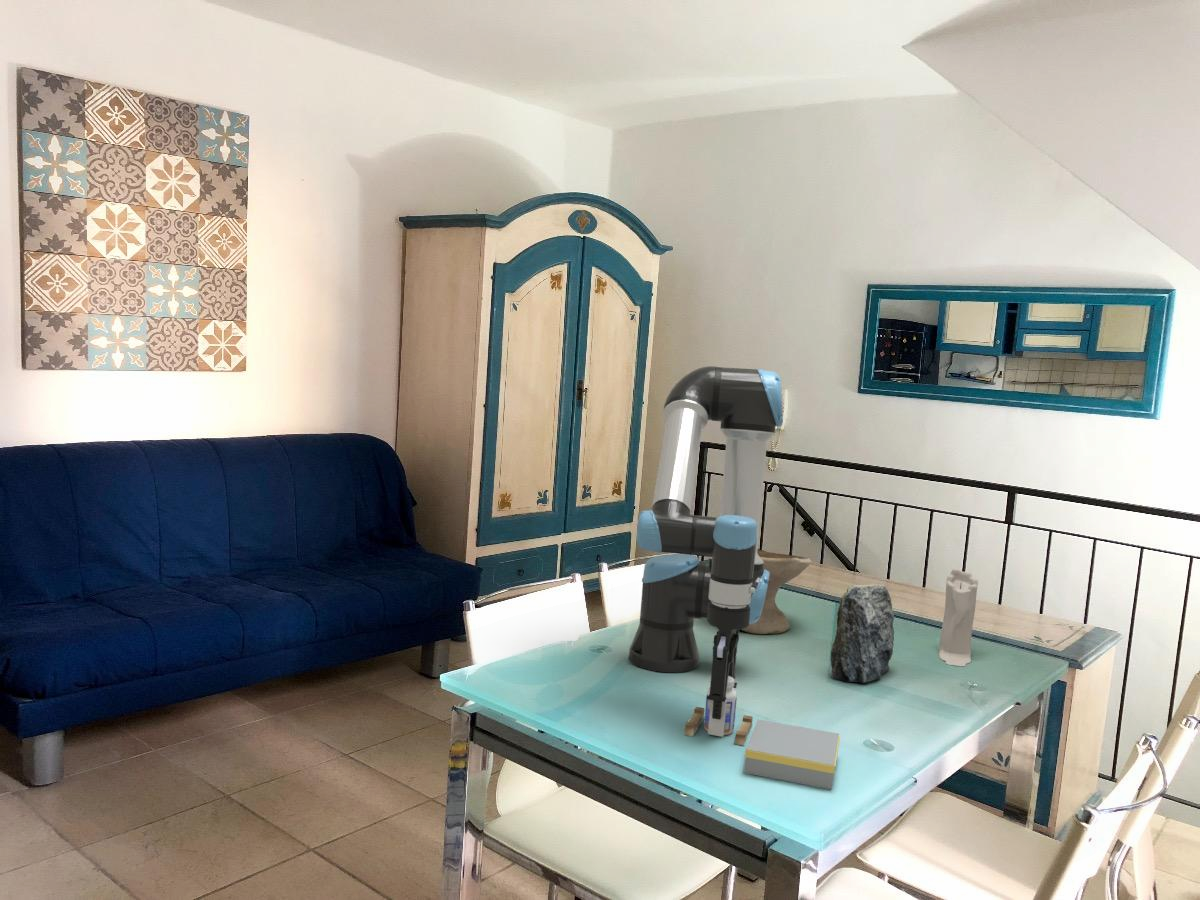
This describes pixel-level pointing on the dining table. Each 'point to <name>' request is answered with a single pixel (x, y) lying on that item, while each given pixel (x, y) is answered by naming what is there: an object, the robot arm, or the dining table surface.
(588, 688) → the dining table surface
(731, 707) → the pill bottle
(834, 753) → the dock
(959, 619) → the candle
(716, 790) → the dining table surface
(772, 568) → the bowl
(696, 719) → the wooden rail rack
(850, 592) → the stone block
